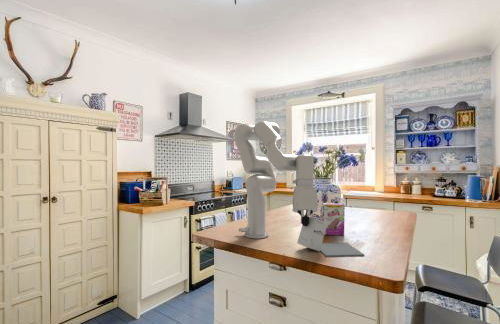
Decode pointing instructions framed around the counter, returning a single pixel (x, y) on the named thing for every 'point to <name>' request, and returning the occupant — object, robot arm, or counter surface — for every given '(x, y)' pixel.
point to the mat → (339, 250)
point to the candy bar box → (333, 218)
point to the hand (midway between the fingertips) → (304, 225)
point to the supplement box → (312, 234)
